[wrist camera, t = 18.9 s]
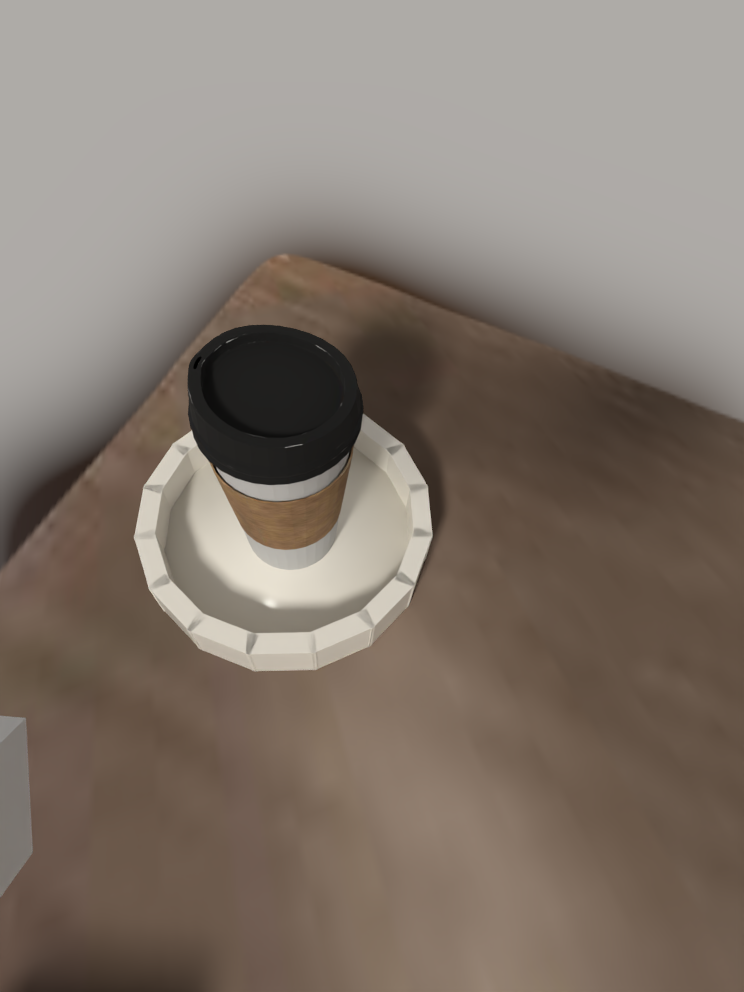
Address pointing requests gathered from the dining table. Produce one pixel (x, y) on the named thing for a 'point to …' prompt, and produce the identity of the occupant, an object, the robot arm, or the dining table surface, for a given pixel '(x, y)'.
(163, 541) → the serving bowl
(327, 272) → the dining table surface
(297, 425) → the coffee cup
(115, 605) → the dining table surface
